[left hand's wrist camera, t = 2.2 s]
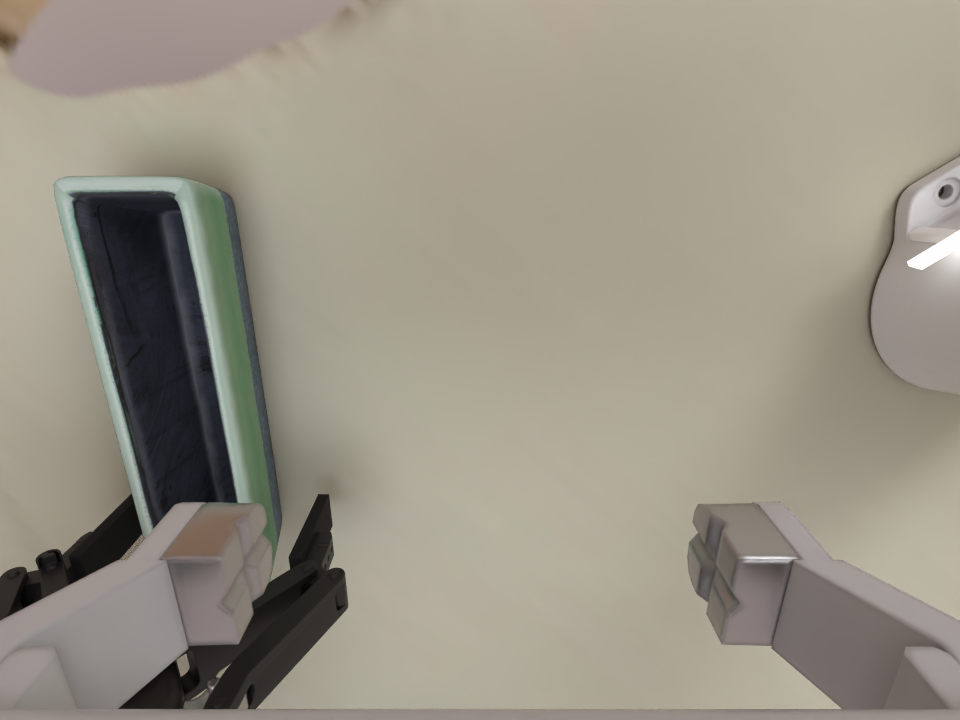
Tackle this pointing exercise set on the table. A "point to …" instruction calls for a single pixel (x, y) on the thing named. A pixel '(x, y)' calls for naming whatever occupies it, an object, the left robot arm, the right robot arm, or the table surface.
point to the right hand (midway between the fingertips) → (233, 509)
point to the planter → (172, 340)
